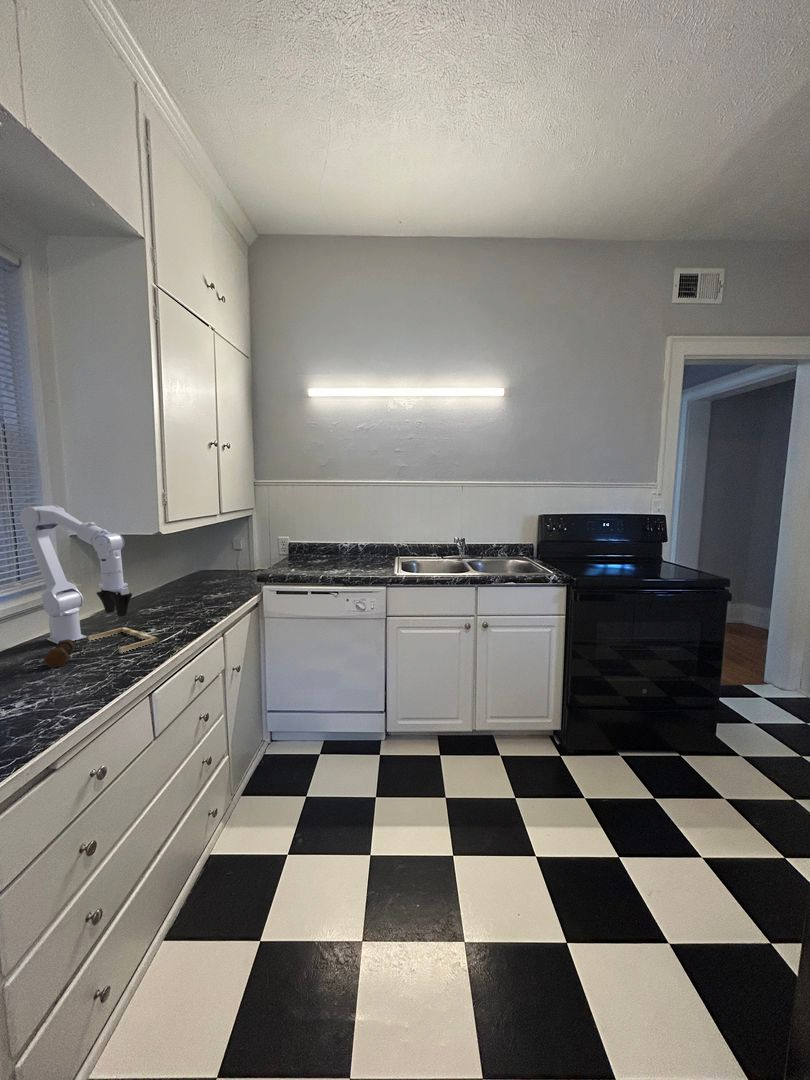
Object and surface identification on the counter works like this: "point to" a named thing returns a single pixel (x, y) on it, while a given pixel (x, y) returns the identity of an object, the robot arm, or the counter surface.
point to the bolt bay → (148, 638)
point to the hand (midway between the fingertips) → (116, 614)
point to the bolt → (59, 653)
